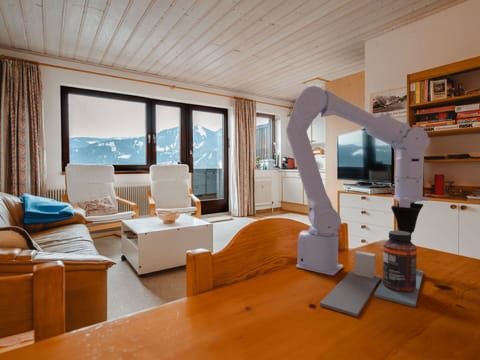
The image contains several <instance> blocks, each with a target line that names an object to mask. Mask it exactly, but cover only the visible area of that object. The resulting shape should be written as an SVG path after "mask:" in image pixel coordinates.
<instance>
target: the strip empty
mask: <svg viewBox="0 0 480 360" xmlns="http://www.w3.org/2000/svg"><path fill="white" fill-rule="evenodd" d="M353 264H354V266H353V267H354V268H353V269H351V270H350V271H349V272H348V273H347V274H346V275H345V276H344V277H343V278H342V279H341V280H340V281H339V282H338V283H337V285H335V286H334V288H332V290H330V292H329V293H327V294H326V295H325V297H324V298H322V300H320V302H319V306H320V307H324V308H327V309H330V310H333V311H337V312H339V313H343V314H347V315H350V316H353V317H357V318H358V316H359V315H360V314H361V312H362V310H363V309H364V307H365V306H366V304H367V302H368V300H369V299H370V297H371V295H372V294H373V292H375V289H377V288H376V287H377V286H378V285H379V284H380V283H379V282H381V279H382V276H381V275H376V253H372V252H366V251H360V250H356V251H355V252H354V263H353Z"/></svg>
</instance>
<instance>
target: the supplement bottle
mask: <svg viewBox="0 0 480 360" xmlns="http://www.w3.org/2000/svg"><path fill="white" fill-rule="evenodd" d="M388 238H389V239H387V240H386V241H384V243H383V251H382V252H383V255H382V257H383V258H382V260H383V263H382V280H383V284H384V285H385V286H386V287H388V288H390V289H392V290H395V291H400V292H412V291H414V290H415V289H416V270H417V257H418V256H417V255H418V253H417V251H418V250H417V246H416V245H415V244H414V243H413V242H412V235H411V233H409V232H404V231H398V230H389V232H388Z"/></svg>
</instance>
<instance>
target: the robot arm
mask: <svg viewBox="0 0 480 360" xmlns="http://www.w3.org/2000/svg"><path fill="white" fill-rule="evenodd" d="M319 114H320V117H321V118H324V117H325V118H326V117H329V116H336V117H339V118H341V119H344V120H347V121H348V122H350V123H354V124H356V125H359V126H361V127H363V128H364V129H365V132H366V135H369V136H371V137H373V138H375V139H377V140H379V141H381V142H383V143H385V144H387V145H390V146H391V147H392V148H393V150H394V151H395V176H394V177H395V178H394V179H395V180H394V195H393V200H395V201H398V203H396V205H391V208H390V209H391V211H392V213H393V215H394V217H395V221H396V225H397V231H404V232H409V233H411V236H412V233H414V231H415V229H416V225H417V220H418V216H419V214H420V212H421V211H422V209H423V207H424V203H418V202H423V201H426V202H427V201H429V197H428V196H427V197H426V196H423V189H424V188H423V187H424V163H425V159H424V158H425V150H426V149H427V148H428V147H429V146H430V143H431V137H429V135H428V133H427V132H426V129H424V128H423V127H420V126H410V123H409V122H407V121H405V122H402V121H401V120H398V119H396V118H394V117H393V116H392V117H391V115H392V114H391V113H389V112H386V111H385V112H378V113H377V112H376V113H374V114H372V113H370V112H369V111H366V110H364V109H362V108H360V107H359V106H357V105H355V104H354V103H351V102H349V101H347V100H345V99H343V98H341V97H340V96H337V95H336V94H335V93H333V92H332V91H331V90H327V89H323V88H321V87H320V86H316V85H311V86H307V87H306V88H304V89H303V90H302V92H300V94H299V96H298V97H297V98H296V100H295V101H294V105H293V108H292V110H291V112H290V116H289V120H288V123H287V126H286V130H285V131H286V132H285V134H286V136H287V140H288V142H289V146H290V149H291V152H292V155H293V158H294V160H295V165H296V168H297V171H298V174H299V176H300V180H301V183H302V186H303V189H304V192H305V193H304V194H305V195H306V199H307V200H306V201H307V202H306V203H307V205H308V213H307V214H308V220H309V223H310V224H311V225H310V226H309V228H308V230H306V229H305V230H304V229H303V230H301V231H300V232H299V234H298V238H297V251H296V252H297V255H296V256H297V257H296V258H297V260H296V261H297V262H296V263H297V264H295V267H296V268H298V269H302V270H307V271H311V272H315V273H319V274H324V275H328V276H335V275H336V274H337V273H338V272H340V270H341V269H342V268H344V264H340V263H339V262H338V261H339V233H340V232H339V229H340V228H341V225H342V219H341V216H340V214H339V213H338V212H337V211H336V209H334V207H333V205H332V201H331V199H330V197H329V196H328V194H327V191H326V189H325V186H324V185H325V184H324V180H323V179H322V178H323V177H322V176H321V173H320V170H319V165H318V163H317V160H316V157H315V154H314V150H313V147H312V144H311V140H310V139H309V135H308V131H309V130H308V129H309V128H310V126H311V125H312V123H313V121H314V119H316V118H317V116H318V115H319ZM416 202H417V203H416Z"/></svg>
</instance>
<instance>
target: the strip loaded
mask: <svg viewBox="0 0 480 360" xmlns="http://www.w3.org/2000/svg"><path fill="white" fill-rule="evenodd" d="M423 276H424V271H423V270H418V269H416V289H415V290H414V291H412V292H400V291H395V290H392V289H390V288H388V287H386V286H385V285H384V284H383V279H382V280H380V283H379V284H378V285H377V286H378V287H377V288H376V290H374V293H373V297H375V298H378V299H381V300H386V301H389V302H394V303H397V304H401V305H406V306H409V307H414V308H416V306H417V302H418V297H419V293H420V288H421V284H422V279H423Z"/></svg>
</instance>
